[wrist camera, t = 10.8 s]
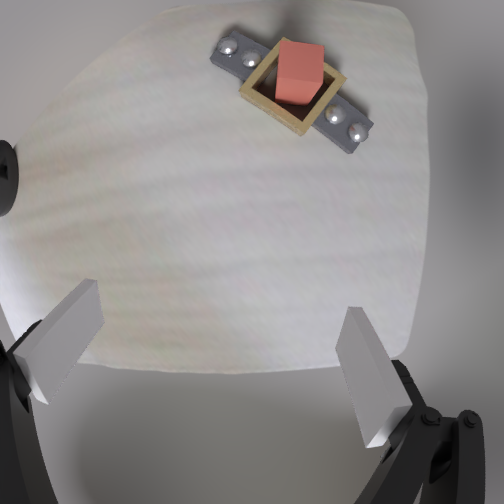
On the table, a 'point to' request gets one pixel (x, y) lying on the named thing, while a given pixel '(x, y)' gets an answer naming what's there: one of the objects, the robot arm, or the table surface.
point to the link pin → (298, 72)
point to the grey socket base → (320, 117)
